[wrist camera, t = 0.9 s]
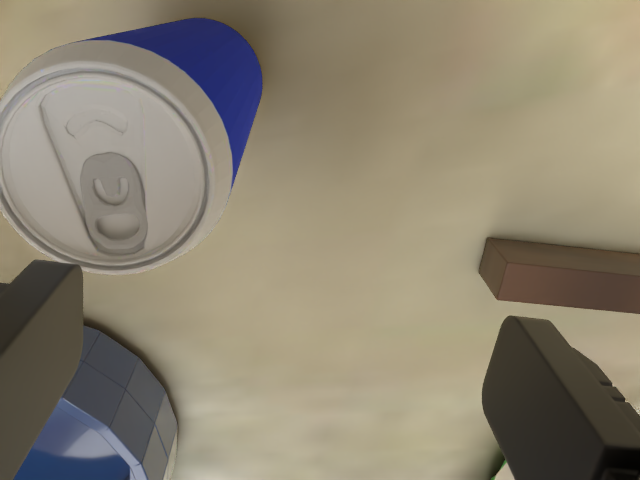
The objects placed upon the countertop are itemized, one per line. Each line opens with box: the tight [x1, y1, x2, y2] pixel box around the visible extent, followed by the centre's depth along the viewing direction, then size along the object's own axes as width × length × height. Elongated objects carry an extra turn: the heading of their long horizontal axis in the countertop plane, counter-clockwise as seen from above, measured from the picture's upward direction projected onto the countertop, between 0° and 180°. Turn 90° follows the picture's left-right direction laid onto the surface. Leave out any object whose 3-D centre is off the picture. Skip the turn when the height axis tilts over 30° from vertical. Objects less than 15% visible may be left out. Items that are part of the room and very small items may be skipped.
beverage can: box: [0, 18, 262, 275], centre depth 19 cm, size 5×5×15 cm
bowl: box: [13, 325, 178, 480], centre depth 30 cm, size 15×15×6 cm
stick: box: [479, 238, 640, 314], centre depth 29 cm, size 9×2×3 cm, turn 83°
